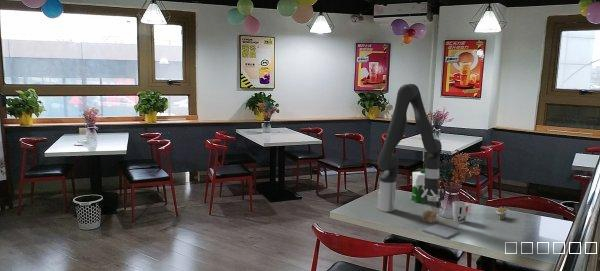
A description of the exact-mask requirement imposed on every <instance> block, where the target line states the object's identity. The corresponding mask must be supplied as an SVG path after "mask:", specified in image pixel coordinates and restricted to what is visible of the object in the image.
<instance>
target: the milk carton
mask: <svg viewBox="0 0 600 271" xmlns="http://www.w3.org/2000/svg"><path fill="white" fill-rule="evenodd" d="M411 175H412V186H411V187H412V191H411V201H413V202H415V203H417V204H420V203H421V204H422V202H421V200H422V197H421V196H419V195H418V193H419V185H423V186H425V184H424V179H425V168H420V171H413V172H412V174H411ZM424 192H425V189H423V193H424ZM425 197H426V201H425V203H428V194H427V195H426V196H425Z"/></svg>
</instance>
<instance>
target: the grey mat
mask: <svg viewBox="0 0 600 271" xmlns="http://www.w3.org/2000/svg"><path fill="white" fill-rule="evenodd" d="M460 231H461V230H459V229H455V228H452V227H449V226H448V227H447V226H444V225H442V224H438V223H435V224H433V225H431V226H429V227H426V228H424V229H422V232H423V233H425V234H428V235H432V236H436V237H439V238H443V239H445V240H448V239H450V238H452V237H454V236H455V235H458V234H460Z"/></svg>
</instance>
